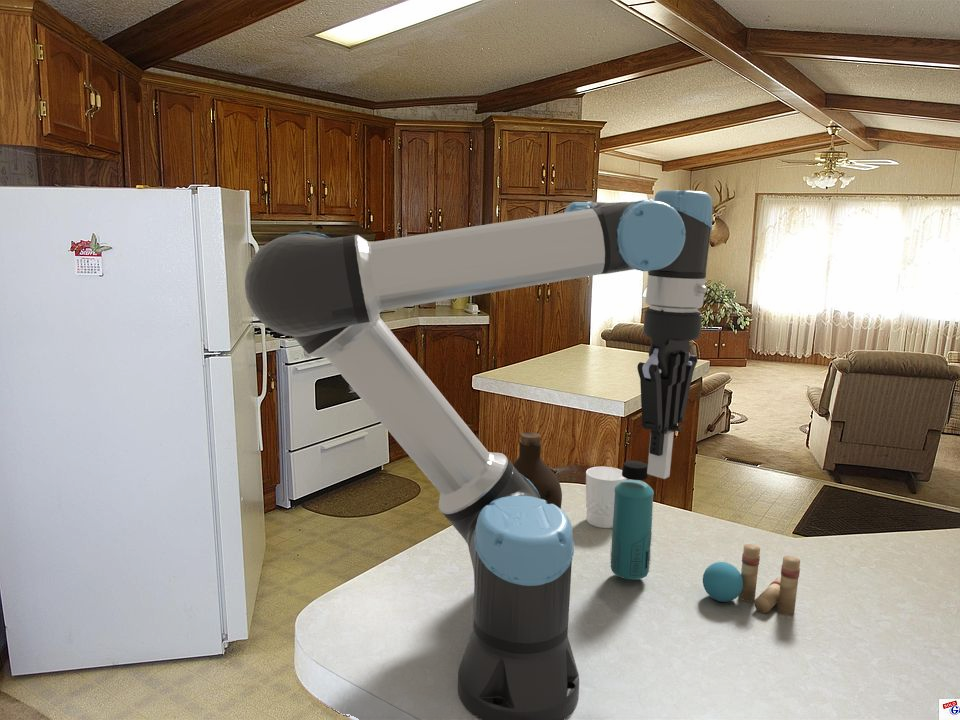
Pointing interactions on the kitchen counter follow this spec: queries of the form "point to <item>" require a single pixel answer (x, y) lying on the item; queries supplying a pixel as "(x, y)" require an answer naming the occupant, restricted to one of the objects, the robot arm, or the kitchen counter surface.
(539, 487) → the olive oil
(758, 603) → the pin front
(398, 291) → the robot arm
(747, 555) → the pin back left
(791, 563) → the pin back right
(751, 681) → the kitchen counter surface
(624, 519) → the beverage bottle
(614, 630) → the kitchen counter surface
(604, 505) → the white cup
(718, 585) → the ball
